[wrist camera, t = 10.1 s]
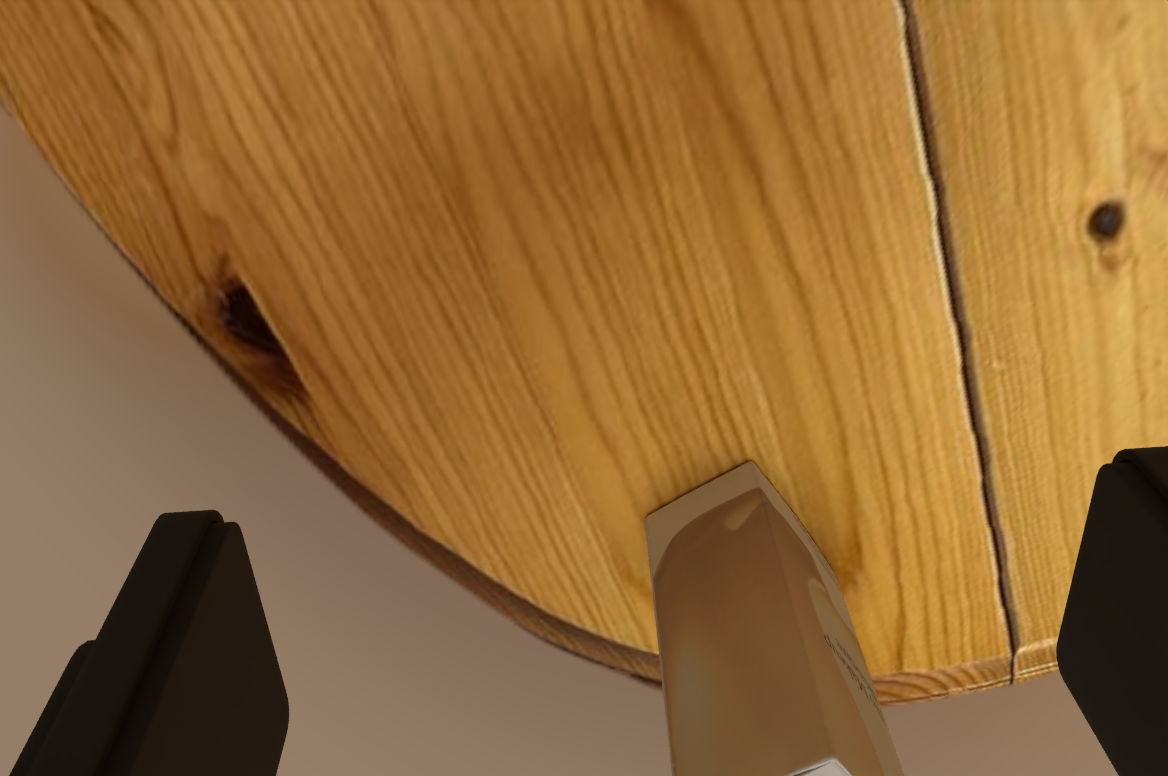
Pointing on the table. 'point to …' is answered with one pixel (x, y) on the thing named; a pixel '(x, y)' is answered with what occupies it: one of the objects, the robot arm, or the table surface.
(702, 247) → the table surface
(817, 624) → the cosmetic box
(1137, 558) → the robot arm
